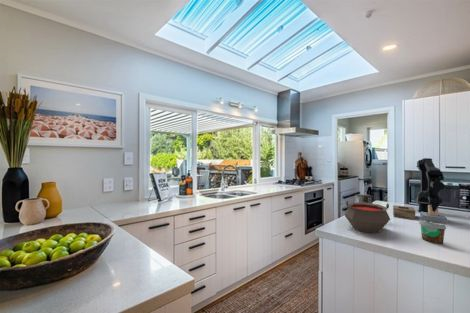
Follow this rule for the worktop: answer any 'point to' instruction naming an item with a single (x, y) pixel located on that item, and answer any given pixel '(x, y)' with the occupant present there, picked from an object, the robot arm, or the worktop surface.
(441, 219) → the frame
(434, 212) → the plug
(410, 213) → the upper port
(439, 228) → the food container
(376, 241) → the worktop surface
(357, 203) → the faceted brown planter
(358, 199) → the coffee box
